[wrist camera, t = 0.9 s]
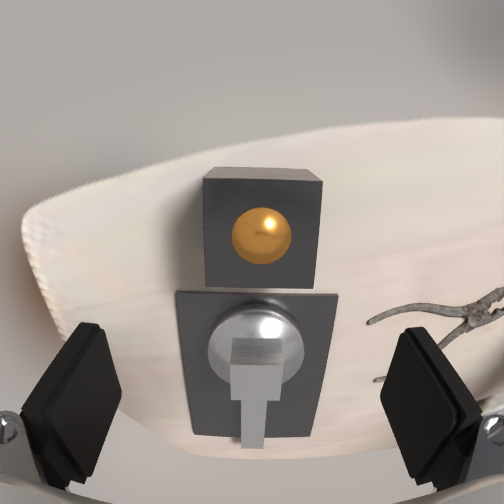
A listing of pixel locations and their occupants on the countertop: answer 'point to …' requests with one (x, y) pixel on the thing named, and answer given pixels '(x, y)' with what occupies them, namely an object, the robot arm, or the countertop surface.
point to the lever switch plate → (254, 361)
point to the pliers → (453, 315)
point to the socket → (261, 227)
